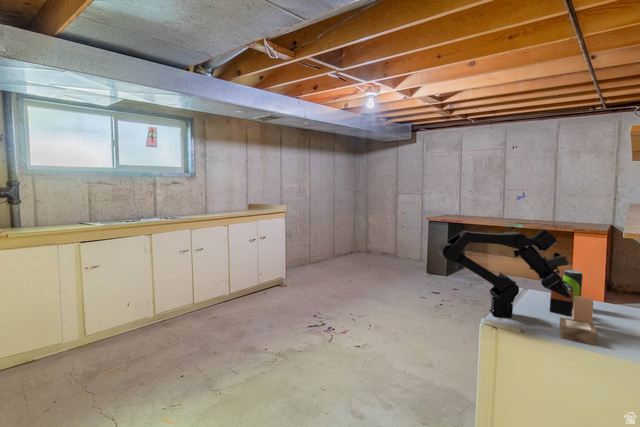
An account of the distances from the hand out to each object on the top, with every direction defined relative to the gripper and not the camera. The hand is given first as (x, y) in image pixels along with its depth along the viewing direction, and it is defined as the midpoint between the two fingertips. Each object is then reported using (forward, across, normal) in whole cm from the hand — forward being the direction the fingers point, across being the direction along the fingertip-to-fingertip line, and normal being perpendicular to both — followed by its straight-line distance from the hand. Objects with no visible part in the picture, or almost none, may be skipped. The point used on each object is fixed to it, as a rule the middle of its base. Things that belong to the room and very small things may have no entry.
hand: (568, 293), depth 124 cm
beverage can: (+10, +22, +6) cm, 24 cm away
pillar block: (+11, 0, +5) cm, 12 cm away
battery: (+7, +12, +8) cm, 16 cm away
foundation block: (+9, -12, +6) cm, 16 cm away
